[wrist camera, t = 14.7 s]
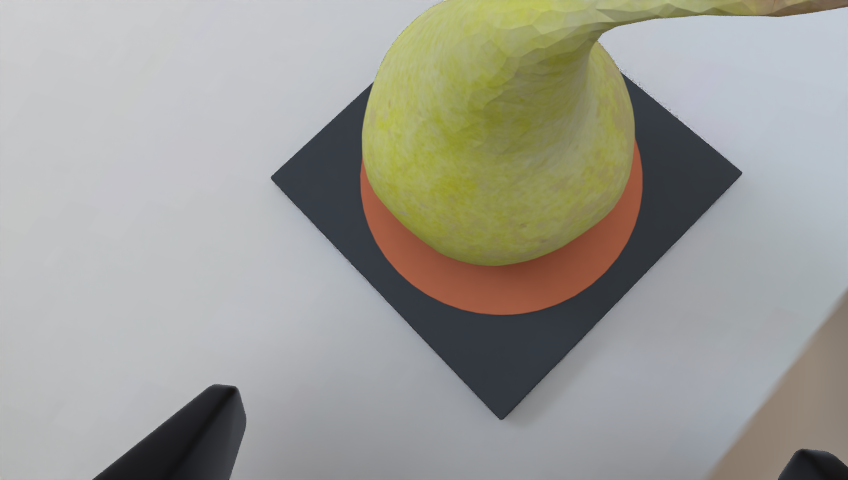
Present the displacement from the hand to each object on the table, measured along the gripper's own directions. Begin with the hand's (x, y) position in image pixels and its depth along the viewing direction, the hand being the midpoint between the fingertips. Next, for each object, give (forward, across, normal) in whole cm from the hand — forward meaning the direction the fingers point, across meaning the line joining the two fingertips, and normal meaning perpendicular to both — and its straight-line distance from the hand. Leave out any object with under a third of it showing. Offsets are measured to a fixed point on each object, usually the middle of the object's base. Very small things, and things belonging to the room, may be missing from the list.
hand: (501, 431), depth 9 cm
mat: (+11, 0, +1) cm, 11 cm away
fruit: (+10, 0, +1) cm, 10 cm away
